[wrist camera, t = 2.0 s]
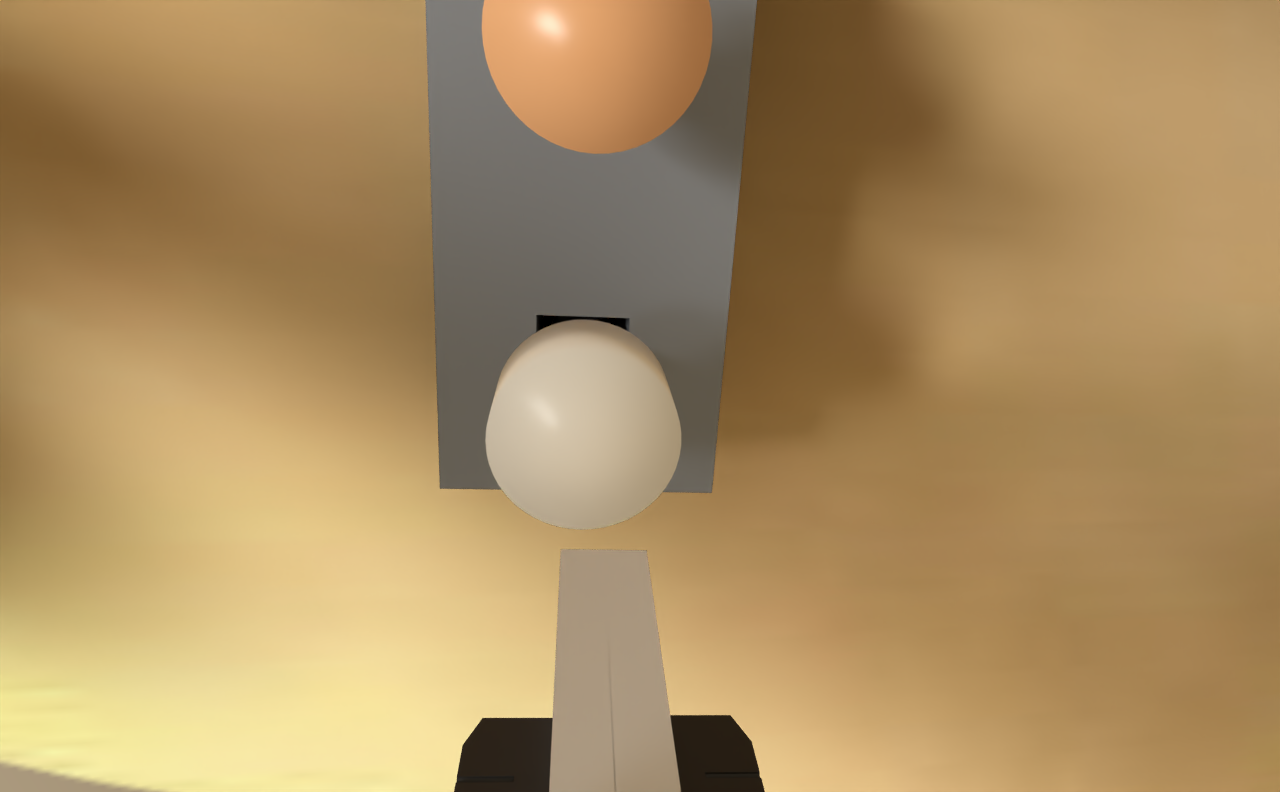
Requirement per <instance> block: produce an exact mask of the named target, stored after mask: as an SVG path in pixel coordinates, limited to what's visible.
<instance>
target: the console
mask: <svg viewBox="0 0 1280 792" xmlns="http://www.w3.org/2000/svg"><path fill="white" fill-rule="evenodd" d="M709 3H710V8H711V16H712V46H711V54H710V59H709V63H708V67H707V71H706V74H705V76H704V79H703V81H702V84H701V87H700V89H699V90H698V92H697V94H696V96H695V98H694V100H693V101H692V103H691V104H690V105H689V107H688V108H687V110H686V111H685V112H684V114H683V115H682V116H681V117H680V118H679V119H678V120H677V121H676V122H675V123H674V124H673V125H672V126H671V127H670V128H668V129H667V130H666V131H665V132H664V133H662V134H661V135H659V136H658V137H656V138H654V139H653V140H651V141H649V142H647V143H645V144H643V145H641V146H638V147H636V148H632V149H629V150H626V151H622V152H615V153H609V154H592V153H584V152H578V151H574V150H570V149H566V148H564V147H561V146H559V145H556V144H554V143H552V142H550V141H548V140H546V139H545V138H543V137H541V136H539V135H538V134H537V133H535V132H534V131H533V130H531V129H530V128H529V127H527V126H526V125H525V124H524V123H523V122H522V121H521V120H520V119H519V118H518V117H517V116H516V115H515V114H514V112H513V111H512V110H511V109H510V107H509V106H508V105H507V104H506V102H505V101H504V99H503V97H502V96H501V94H500V93H499V91H498V89H497V87H496V85H495V83H494V80H493V78H492V76H491V73H490V70H489V67H488V64H487V61H486V57H485V52H484V46H483V38H482V12H483V5H484V0H426V31H427V65H428V99H429V133H430V168H431V202H432V236H433V270H434V304H435V338H436V372H437V406H438V441H439V475H440V489H501V488H500V486H499V485H498V483H497V481H496V479H495V478H494V476H493V473H492V471H491V468H490V466H489V462H488V458H487V453H486V442H485V439H486V427H487V422H488V418H489V414H490V410H491V406H492V403H493V399H494V395H495V391H496V388H497V384H498V380H499V377H500V375H501V372H502V369H503V368H504V366H505V364H506V362H507V360H508V359H509V357H510V356H511V354H512V353H513V352H514V351H515V349H516V348H517V347H518V346H519V345H520V344H521V343H522V342H523V341H525V340H526V339H527V338H528V337H530V336H531V335H533V334H534V333H536V332H538V331H539V330H541V329H543V321H544V315H554V316H583V317H612V318H616V326H618V327H620V328H622V329H624V330H626V331H628V332H630V333H631V334H633V335H634V336H636V337H637V338H638V339H640V340H641V341H642V342H643V343H644V344H645V345H646V346H647V347H648V348H649V349H650V350H651V351H652V353H653V354H654V355H655V357H656V358H657V360H658V361H659V363H660V365H661V367H662V369H663V371H664V374H665V376H666V380H667V383H668V386H669V389H670V392H671V395H672V398H673V401H674V404H675V407H676V410H677V413H678V417H679V421H680V427H681V450H680V457H679V460H678V463H677V467H676V469H675V472H674V474H673V476H672V478H671V480H670V482H669V483H668V485H667V486H666V488H665V489H664V491H663V492H692V493H712V485H713V474H714V463H715V452H716V442H717V431H718V420H719V409H720V398H721V387H722V376H723V365H724V354H725V344H726V333H727V322H728V311H729V300H730V289H731V278H732V267H733V256H734V246H735V235H736V224H737V213H738V202H739V191H740V180H741V169H742V158H743V148H744V137H745V126H746V115H747V104H748V93H749V82H750V71H751V60H752V50H753V39H754V28H755V17H756V6H757V0H709Z"/></svg>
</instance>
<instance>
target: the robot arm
mask: <svg viewBox="0 0 1280 792" xmlns="http://www.w3.org/2000/svg"><path fill="white" fill-rule="evenodd" d="M454 792H765V791H764V787H763V783H762V779H761V778H760V775H759V768H758V764H757V761H756V757H755V753H754V749H753V745H752V742H751V740H750V739H749V738H748V737H747V735H746V734H745V733H744V732H743V730H742V729H741V728H740V727H739V725H738V724H737V723H736V722H735V721H734V719H733V718H732V717H731V716H730V715H670V711H669V704H668V697H667V690H666V683H665V676H664V669H663V662H662V655H661V648H660V641H659V634H658V627H657V620H656V613H655V606H654V599H653V592H652V585H651V578H650V571H649V564H648V557H647V550H586V549H561V556H560V576H559V597H558V618H557V639H556V660H555V681H554V702H553V718H482V720H481V721H480V723H479V724H478V725H477V727H476V728H475V729H474V731H473V732H472V733H471V735H470V736H469V737H468V739H467V740H466V742H465V743H464V744H463V747H462V752H461V758H460V763H459V769H458V774H457V783H456V785H455V790H454Z"/></svg>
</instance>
